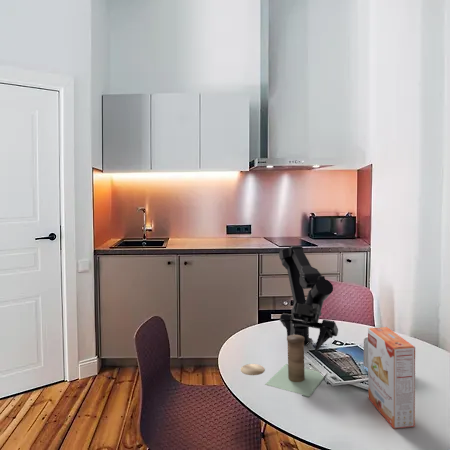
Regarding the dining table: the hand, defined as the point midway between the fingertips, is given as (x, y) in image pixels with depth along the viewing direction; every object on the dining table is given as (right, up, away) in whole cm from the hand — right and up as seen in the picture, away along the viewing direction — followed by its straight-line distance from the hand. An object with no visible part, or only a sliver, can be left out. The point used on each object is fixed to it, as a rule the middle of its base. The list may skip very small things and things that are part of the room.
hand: (301, 348), depth 126 cm
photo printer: (+25, -8, +2) cm, 26 cm away
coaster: (-16, -8, +3) cm, 18 cm away
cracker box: (+19, -10, -23) cm, 31 cm away
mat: (-2, -9, -4) cm, 10 cm away
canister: (-2, -8, -4) cm, 9 cm away
